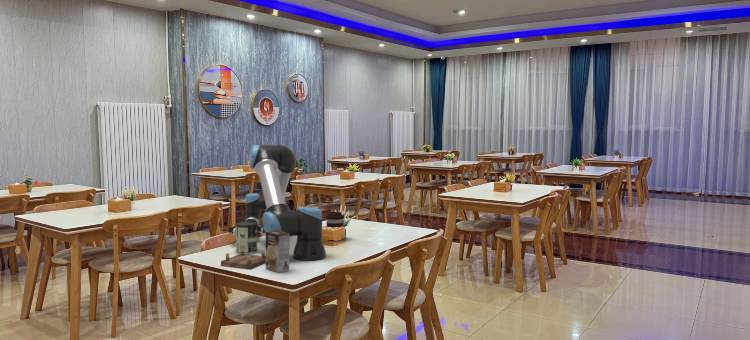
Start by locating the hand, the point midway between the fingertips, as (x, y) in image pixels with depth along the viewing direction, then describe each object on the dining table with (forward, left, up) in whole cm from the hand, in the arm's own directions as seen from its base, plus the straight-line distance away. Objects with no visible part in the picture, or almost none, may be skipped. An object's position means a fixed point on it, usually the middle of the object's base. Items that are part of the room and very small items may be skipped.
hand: (247, 233), depth 263 cm
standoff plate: (-17, +26, -7) cm, 32 cm away
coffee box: (-35, +29, -8) cm, 46 cm away
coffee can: (-5, +8, -8) cm, 12 cm away
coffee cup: (-32, -34, -8) cm, 47 cm away
